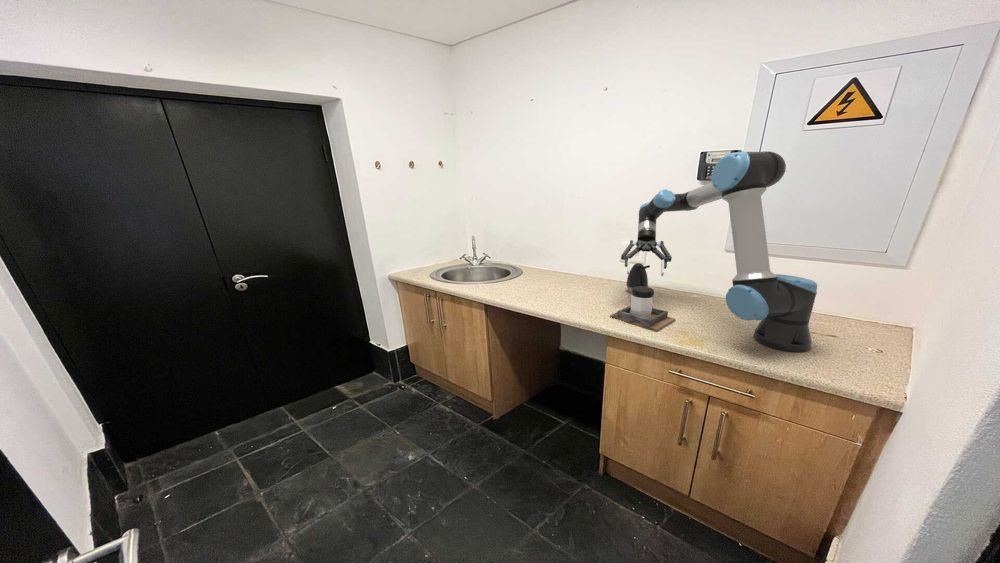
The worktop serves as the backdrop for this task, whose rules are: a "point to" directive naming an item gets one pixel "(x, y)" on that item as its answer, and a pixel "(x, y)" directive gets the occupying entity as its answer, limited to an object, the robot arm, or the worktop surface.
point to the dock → (655, 323)
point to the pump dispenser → (637, 276)
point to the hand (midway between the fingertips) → (644, 273)
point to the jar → (642, 301)
